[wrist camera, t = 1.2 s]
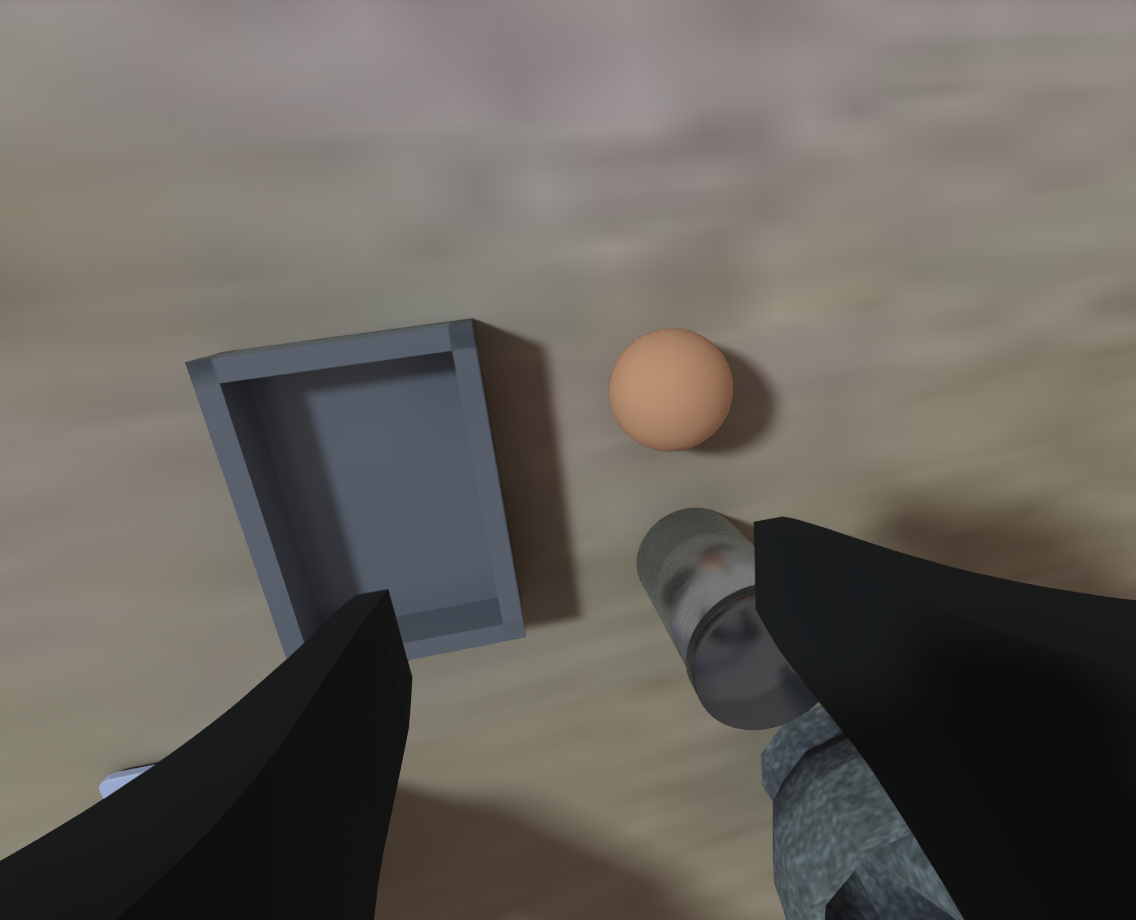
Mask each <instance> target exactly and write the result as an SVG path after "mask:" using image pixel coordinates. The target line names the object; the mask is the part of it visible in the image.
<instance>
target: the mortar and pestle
mask: <svg viewBox="0 0 1136 920" xmlns="http://www.w3.org/2000/svg"><path fill="white" fill-rule="evenodd" d="M762 785H763V787H764V789H765V790H766V792H767V793H768V795H769V796H770V798H771V799H772V800H773V865H774V883H775V886H776V889H777V892H778V895H779V899H780V902H781V905H782V908H783V911H784V914H785V917H786V920H964V919H963V917H962V916H961V914H960V912H959V910H958V909H957V907H956V905H955V903H954V902H953V900H952V898H951V896H950V895H949V893H948V891H947V890H946V888H945V886H944V885H943V883H942V881H941V880H940V878H939V876H938V875H937V873H936V871H935V870H934V868H933V867H932V865H931V863H930V862H929V860H928V858H927V857H926V855H925V853H924V852H923V850H922V849H921V847H920V845H919V844H918V842H917V840H916V839H915V837H914V835H913V834H912V832H911V831H910V829H909V827H908V826H907V824H906V823H905V821H904V819H903V818H902V816H901V815H900V813H899V812H898V810H897V809H896V807H895V805H894V804H893V802H892V801H891V799H890V798H889V796H888V795H887V793H886V792H885V790H884V788H883V787H882V785H881V784H880V782H879V781H878V779H877V778H876V776H875V774H874V773H873V771H872V770H871V769H870V767H869V766H868V764H867V763H866V762H865V760H864V759H863V758H862V756H861V755H860V753H859V752H858V751H857V749H856V748H855V747H854V745H853V744H852V743H851V742H850V740H849V739H848V738H847V736H846V735H845V734H844V733H843V731H842V730H841V729H840V728H839V726H838V725H837V724H836V723H835V721H834V720H833V719H832V717H831V716H830V715H829V714H828V712H827V711H826V710H825V709H824V707H823V706H822V705H820V706H818V707H816V708H814V709H812V710H810V711H808V712H806V713H804V714H803V715H801V716H800V717H798V718H796V719H794V720H792V721H790V722H788V723H785V724H783V726H782V727H781V728H780V730H779V731H778V732H777V734H776V735H775V736H774V738H773V739H772V740H771V742H770V743H769V744H768V746H767V747H766V748H765V750H764V751H763V753H762Z"/></svg>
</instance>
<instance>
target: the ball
mask: <svg viewBox="0 0 1136 920" xmlns="http://www.w3.org/2000/svg"><path fill="white" fill-rule="evenodd" d="M609 397H610V404H611V408H612V411H613V414H614V416H615V418H616V420H617V422H618V423H619V425H620V426H621V428H622V429H623V430H624V431H625V432H626V434H628V435H629V436H630V437H631V438H632V439H634V440H635V441H637V442H638V443H640V444H641V445H644V446H646V447H648V448H652V449H655V450H660V451H680V450H685V449H689V448H692V447H694V446H697V445H698V444H700V443H702V442H704V441H705V440H707V439H708V438H709V437H711V436H712V435H713V434H714V433H715V432H716V431H717V430H718V429H719V428H720V426H721V425H722V423H723V422H724V420H725V418H726V417H727V415H728V412H729V410H730V407H731V403H732V398H733V378H732V374H731V370H730V368H729V365H728V363H727V361H726V359H725V357H724V355H723V354H722V353H721V351H720V350H719V349H718V348H717V347H716V346H715V345H714V344H713V343H712V342H711V341H709V340H708V339H707V338H705V337H703V336H701V335H700V334H697V333H695V332H692V331H689V330H684V329H675V328H669V329H661V330H656V331H653V332H650V333H648V334H646V335H644V336H642V337H640V338H638V339H637V340H635V341H634V342H633V343H632V344H630V345H629V346H628V347H627V348H626V349H625V350H624V352H623V353H622V354H621V356H620V357H619V359H618V360H617V362H616V364H615V366H614V369H613V371H612V374H611V379H610V385H609Z"/></svg>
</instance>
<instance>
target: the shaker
mask: <svg viewBox="0 0 1136 920" xmlns="http://www.w3.org/2000/svg"><path fill="white" fill-rule="evenodd" d="M637 571H638V576H639V579H640V581H641V583H642V585H643V587H644V589H645V591H646V592H647V594H648V596H649V598H650V600H651V602H652V604H653V606H654V607H655V609H656V611H657V613H658V615H659V617H660V619H661V621H662V623H663V624H664V626H665V628H666V630H667V632H668V634H669V636H670V638H671V639H672V641H673V643H674V645H675V647H676V649H677V651H678V653H679V654H680V656H681V658H682V660H683V662H684V664H685V666H686V668H687V674H688V677H689V680H690V682H691V684H692V686H693V688H694V690H695V692H696V694H697V695H698V697H699V699H700V701H701V703H702V705H703V706H704V708H705V709H706V710H707V712H708V713H709V714H710V715H711V716H712V717H714V718H715V719H716V720H718V721H719V722H721V723H723V724H725V725H728V726H731V727H734V728H738V729H744V730H762V729H768V728H773V727H776V726H780V725H782V724H785V723H788V722H790V721H792V720H794V719H796V718H798V717H800V716H801V715H803V714H804V713H806V712H807V711H809V710H810V709H811V708H812V707H814V706H815V705H816V704H817V703H818V702H819V701H818V700H817V699H816V697H815V696H814V695H813V693H812V692H811V691H810V690H809V688H808V687H807V686H806V685H805V683H804V682H803V681H802V679H801V678H800V677H799V676H798V674H797V673H796V672H795V670H794V669H793V668H792V667H791V665H790V664H789V663H788V661H787V660H786V659H785V657H784V656H783V655H782V653H781V652H780V651H779V649H778V647H777V646H776V644H775V642H774V641H773V639H772V638H771V636H770V634H769V633H768V631H767V629H766V627H765V625H764V624H763V622H762V620H761V618H760V617H759V615H758V613H757V611H756V609H755V555H754V545H753V544H752V543H751V542H750V541H749V540H748V539H747V538H746V537H745V536H744V535H743V534H742V533H741V532H740V531H739V530H738V529H737V528H736V527H735V526H734V525H733V524H732V523H731V522H730V521H729V520H727V519H726V518H725V517H724V516H722V515H721V514H719V513H717V512H715V511H712V510H709V509H703V508H688V509H683V510H679V511H676V512H674V513H671V514H669V515H667V516H666V517H664V518H663V519H661V520H660V521H658V522H657V523H656V524H655V525H654V526H653V527H652V528H651V529H650V530H649V531H648V533H647V534H646V536H645V537H644V539H643V541H642V543H641V545H640V548H639V551H638V555H637Z"/></svg>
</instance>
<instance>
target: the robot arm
mask: <svg viewBox="0 0 1136 920" xmlns="http://www.w3.org/2000/svg"><path fill="white" fill-rule="evenodd" d="M754 555H755V609H756V611H757V613H758V615H759V617H760V618H761V620H762V622H763V624H764V625H765V627H766V629H767V631H768V633H769V634H770V636H771V638H772V639H773V641H774V642H775V644H776V646H777V647H778V649H779V651H780V652H781V653H782V655H783V656H784V657H785V659H786V660H787V661H788V663H789V664H790V665H791V667H792V668H793V669H794V670H795V672H796V673H797V674H798V676H799V677H800V678H801V679H802V681H803V682H804V683H805V685H806V686H807V687H808V688H809V690H810V691H811V692H812V693H813V695H814V696H815V697H816V699H817V700H818V701H819V702H820V704H821V705H822V706H823V707H824V709H825V710H826V711H827V712H828V714H829V715H830V716H831V717H832V719H833V720H834V721H835V723H836V724H837V725H838V726H839V728H840V729H841V730H842V731H843V733H844V734H845V735H846V736H847V738H848V739H849V740H850V742H851V743H852V744H853V745H854V747H855V748H856V749H857V751H858V752H859V753H860V755H861V756H862V758H863V759H864V760H865V762H866V763H867V764H868V766H869V767H870V769H871V770H872V771H873V773H874V774H875V776H876V778H877V779H878V781H879V782H880V784H881V785H882V787H883V788H884V790H885V792H886V793H887V795H888V796H889V798H890V799H891V801H892V802H893V804H894V805H895V807H896V809H897V810H898V812H899V813H900V815H901V816H902V818H903V819H904V821H905V823H906V824H907V826H908V827H909V829H910V831H911V832H912V834H913V835H914V837H915V839H916V840H917V842H918V844H919V845H920V847H921V849H922V850H923V852H924V853H925V855H926V857H927V858H928V860H929V862H930V863H931V865H932V867H933V868H934V870H935V871H936V873H937V875H938V876H939V878H940V880H941V881H942V883H943V885H944V886H945V888H946V890H947V891H948V893H949V895H950V896H951V898H952V900H953V902H954V903H955V905H956V907H957V909H958V910H959V912H960V914H961V916H962V917H963V919H964V920H1136V600H1128V599H1119V598H1111V597H1104V596H1098V595H1091V594H1085V593H1078V592H1072V591H1065V590H1059V589H1053V588H1047V587H1041V586H1036V585H1030V584H1025V583H1020V582H1015V581H1011V580H1006V579H1001V578H997V577H992V576H988V575H983V574H978V573H974V572H970V571H966V570H962V569H958V568H954V567H950V566H946V565H942V564H939V563H935V562H932V561H928V560H925V559H921V558H917V557H914V556H910V555H907V554H904V553H901V552H897V551H894V550H891V549H888V548H884V547H881V546H878V545H875V544H872V543H869V542H866V541H863V540H860V539H857V538H854V537H851V536H848V535H845V534H842V533H839V532H836V531H833V530H830V529H827V528H823V527H820V526H817V525H814V524H811V523H807V522H804V521H801V520H797V519H793V518H788V517H778V518H772V519H767V520H761V521H756V522H754ZM411 692H412V674H411V671H410V667H409V663H408V660H407V656H406V652H405V648H404V645H403V641H402V637H401V634H400V630H399V626H398V622H397V619H396V615H395V611H394V608H393V604H392V600H391V597H390V593H389V589H385V590H380V591H374V592H369V593H364V594H358V595H355V596H354V597H352V598H351V599H350V600H349V601H348V602H346V603H345V604H344V605H343V606H342V607H341V608H340V609H339V610H338V611H337V612H336V613H335V614H333V615H332V616H331V617H330V618H329V619H328V620H327V621H326V622H325V623H324V624H323V625H322V626H321V627H320V628H319V629H318V630H317V631H316V632H315V633H314V634H313V635H312V636H311V637H310V638H308V639H307V640H306V641H305V642H304V643H303V644H302V645H301V646H300V647H299V648H298V649H297V650H296V651H295V652H294V653H293V654H292V655H291V656H290V657H289V658H287V659H286V660H285V661H284V662H283V663H282V664H281V665H280V666H279V667H277V668H276V669H275V670H274V671H273V672H272V673H271V674H269V675H268V676H267V677H266V678H265V679H264V680H263V681H261V682H260V683H259V684H258V685H257V686H256V687H255V688H253V689H252V690H251V691H250V692H249V693H248V694H247V695H245V696H244V697H243V698H242V699H241V700H240V701H239V702H237V703H236V704H235V705H234V706H233V707H231V708H230V709H229V710H228V711H226V712H225V713H224V714H223V715H221V716H220V717H219V718H218V719H216V720H215V721H214V722H213V723H211V724H210V725H209V726H207V727H206V728H205V729H203V730H202V731H201V732H199V733H198V734H197V735H195V736H194V737H193V738H191V739H190V740H189V741H187V742H186V743H185V744H183V745H182V746H181V747H179V748H178V749H177V750H175V751H174V752H172V753H171V754H170V755H168V756H167V757H165V758H164V759H163V760H161V761H160V762H158V763H157V764H154V765H149V766H145V767H140V768H135V769H130V770H125V771H120V772H115V773H112V774H109V775H108V776H107V777H106V778H105V779H104V780H103V782H102V783H101V784H100V787H99V790H100V793H101V795H102V797H103V800H101V801H99V802H98V803H96V804H95V805H93V806H92V807H90V808H89V809H87V810H85V811H84V812H82V813H81V814H79V815H77V816H76V817H74V818H72V819H71V820H69V821H67V822H66V823H64V824H63V825H61V826H59V827H58V828H56V829H54V830H53V831H51V832H49V833H48V834H46V835H44V836H43V837H41V838H39V839H38V840H36V841H34V842H32V843H31V844H29V845H27V846H25V847H24V848H22V849H20V850H18V851H17V852H15V853H13V854H11V855H10V856H8V857H6V858H5V859H3V860H1V861H0V920H374V915H375V906H376V897H377V888H378V881H379V875H380V869H381V863H382V857H383V851H384V846H385V842H386V837H387V832H388V827H389V823H390V818H391V813H392V808H393V803H394V799H395V794H396V789H397V784H398V779H399V775H400V770H401V765H402V760H403V755H404V750H405V745H406V740H407V735H408V729H409V719H410V707H411Z"/></svg>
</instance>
